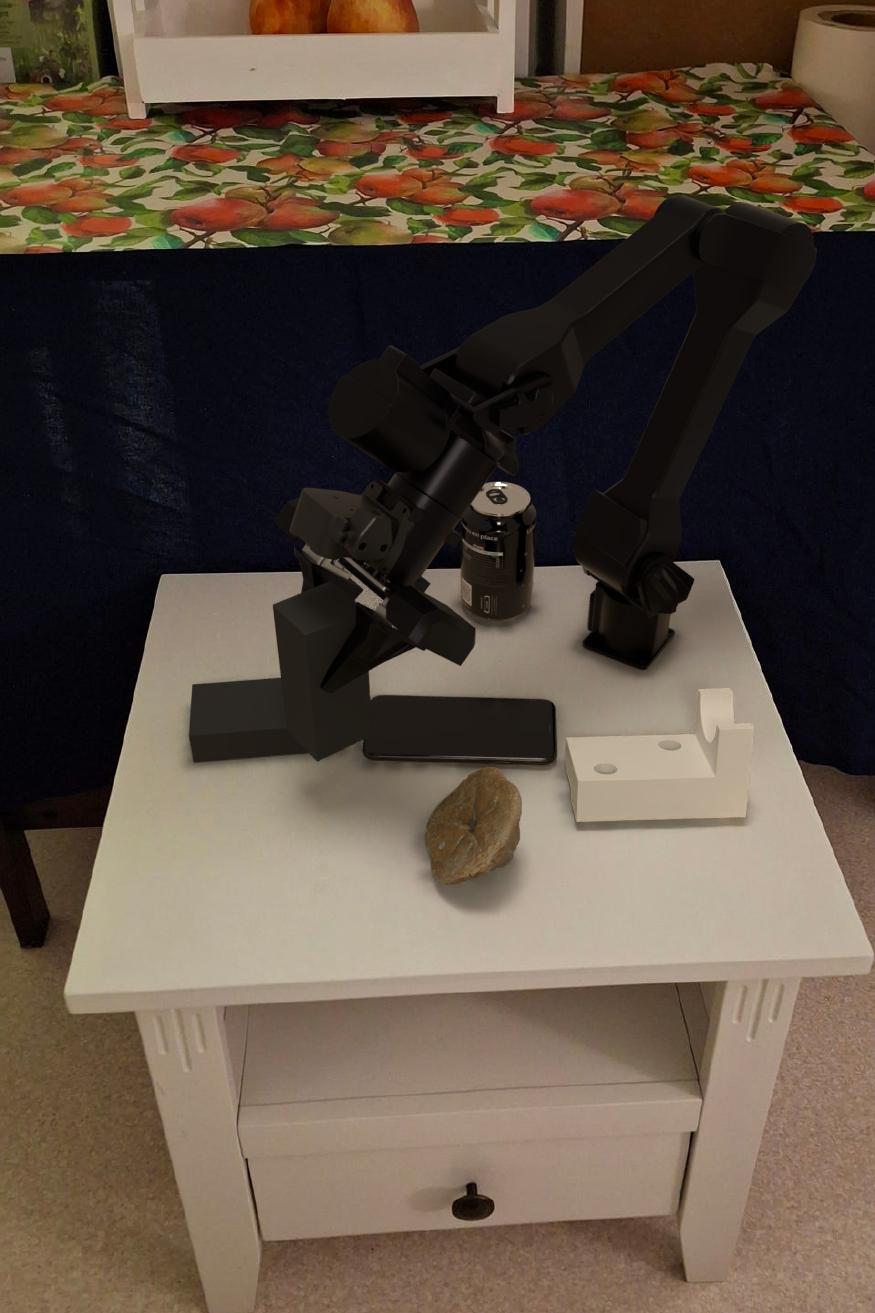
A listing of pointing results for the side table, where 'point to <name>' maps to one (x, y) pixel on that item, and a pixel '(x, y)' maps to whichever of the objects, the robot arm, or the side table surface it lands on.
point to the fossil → (474, 827)
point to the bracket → (665, 769)
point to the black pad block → (320, 671)
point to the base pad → (239, 721)
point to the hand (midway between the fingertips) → (307, 673)
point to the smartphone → (462, 730)
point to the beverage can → (498, 552)
